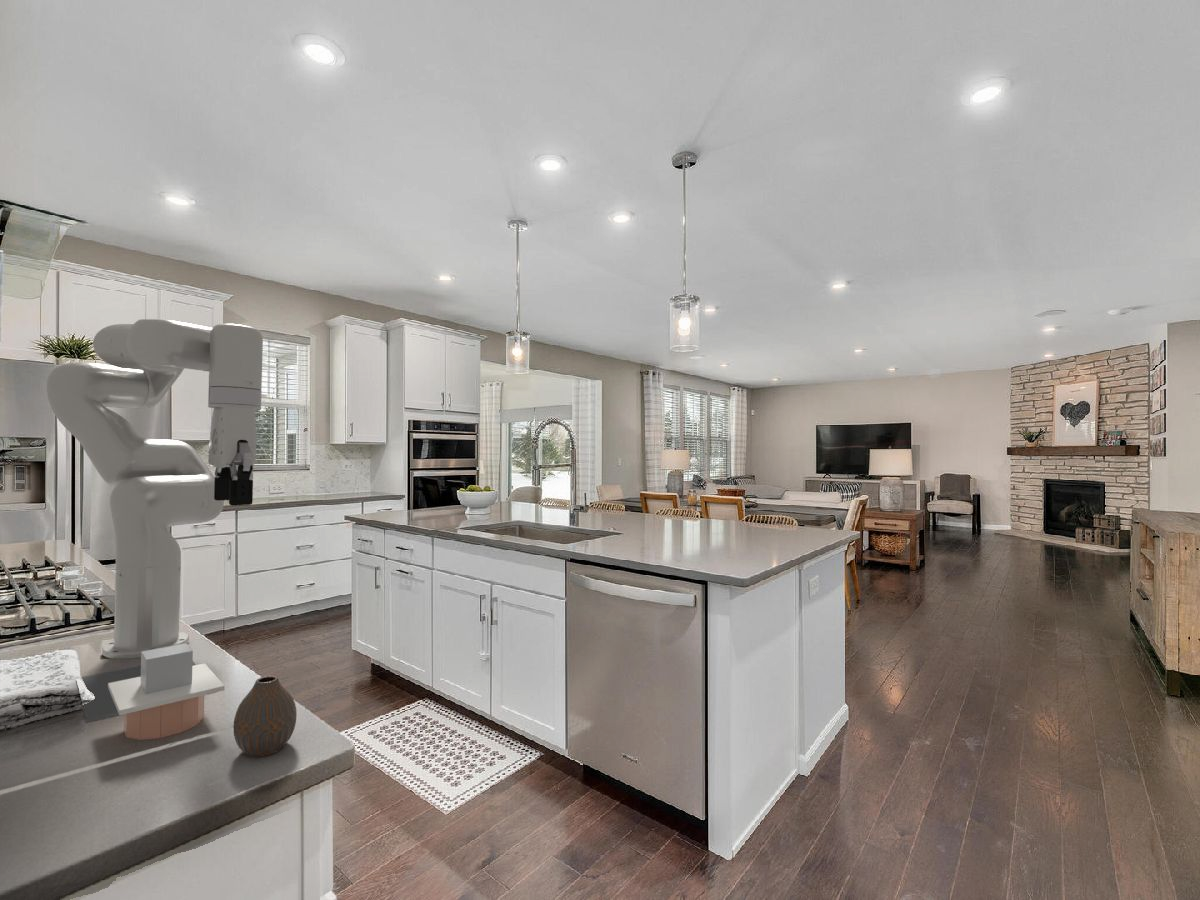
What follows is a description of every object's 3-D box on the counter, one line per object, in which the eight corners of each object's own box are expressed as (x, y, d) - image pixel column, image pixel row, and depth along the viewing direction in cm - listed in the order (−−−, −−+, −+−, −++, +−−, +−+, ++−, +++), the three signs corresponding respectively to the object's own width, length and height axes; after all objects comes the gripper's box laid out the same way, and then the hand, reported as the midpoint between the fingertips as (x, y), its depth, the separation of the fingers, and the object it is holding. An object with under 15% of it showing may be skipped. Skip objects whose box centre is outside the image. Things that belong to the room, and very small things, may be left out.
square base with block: (107, 687, 79) (108, 649, 79) (204, 667, 87) (205, 632, 87) (119, 715, 71) (120, 673, 71) (224, 690, 79) (225, 652, 79)
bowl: (120, 725, 79) (121, 688, 79) (195, 706, 85) (196, 672, 85) (129, 749, 73) (130, 708, 73) (209, 727, 79) (210, 690, 79)
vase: (267, 766, 70) (269, 693, 70) (218, 759, 71) (220, 687, 71) (307, 738, 76) (309, 671, 76) (262, 732, 78) (264, 666, 78)
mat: (75, 680, 92) (75, 678, 92) (189, 658, 103) (189, 656, 103) (86, 725, 78) (86, 722, 78) (217, 694, 89) (217, 691, 89)
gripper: (197, 400, 101) (194, 499, 101) (222, 395, 89) (219, 508, 89) (246, 403, 106) (243, 497, 106) (276, 399, 94) (273, 505, 94)
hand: (232, 502), depth 98 cm, fingers open, 9 cm apart
